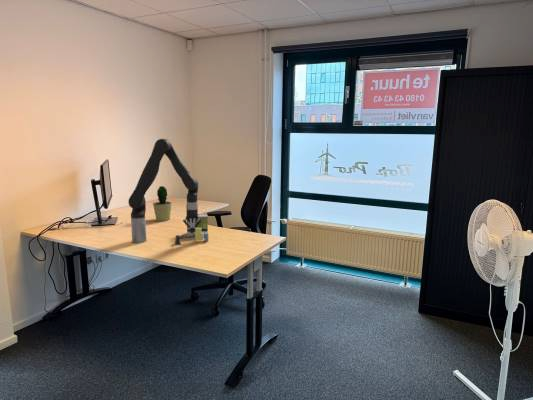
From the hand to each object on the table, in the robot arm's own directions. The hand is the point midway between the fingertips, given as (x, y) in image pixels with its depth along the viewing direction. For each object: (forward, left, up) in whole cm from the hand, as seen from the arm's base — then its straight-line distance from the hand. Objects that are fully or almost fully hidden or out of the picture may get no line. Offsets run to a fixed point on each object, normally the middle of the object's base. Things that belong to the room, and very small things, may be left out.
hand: (192, 232), depth 257 cm
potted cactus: (-16, +73, -7) cm, 75 cm away
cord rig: (0, 0, -7) cm, 7 cm away
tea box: (+6, +19, -7) cm, 21 cm away
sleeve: (+4, 0, -5) cm, 7 cm away
